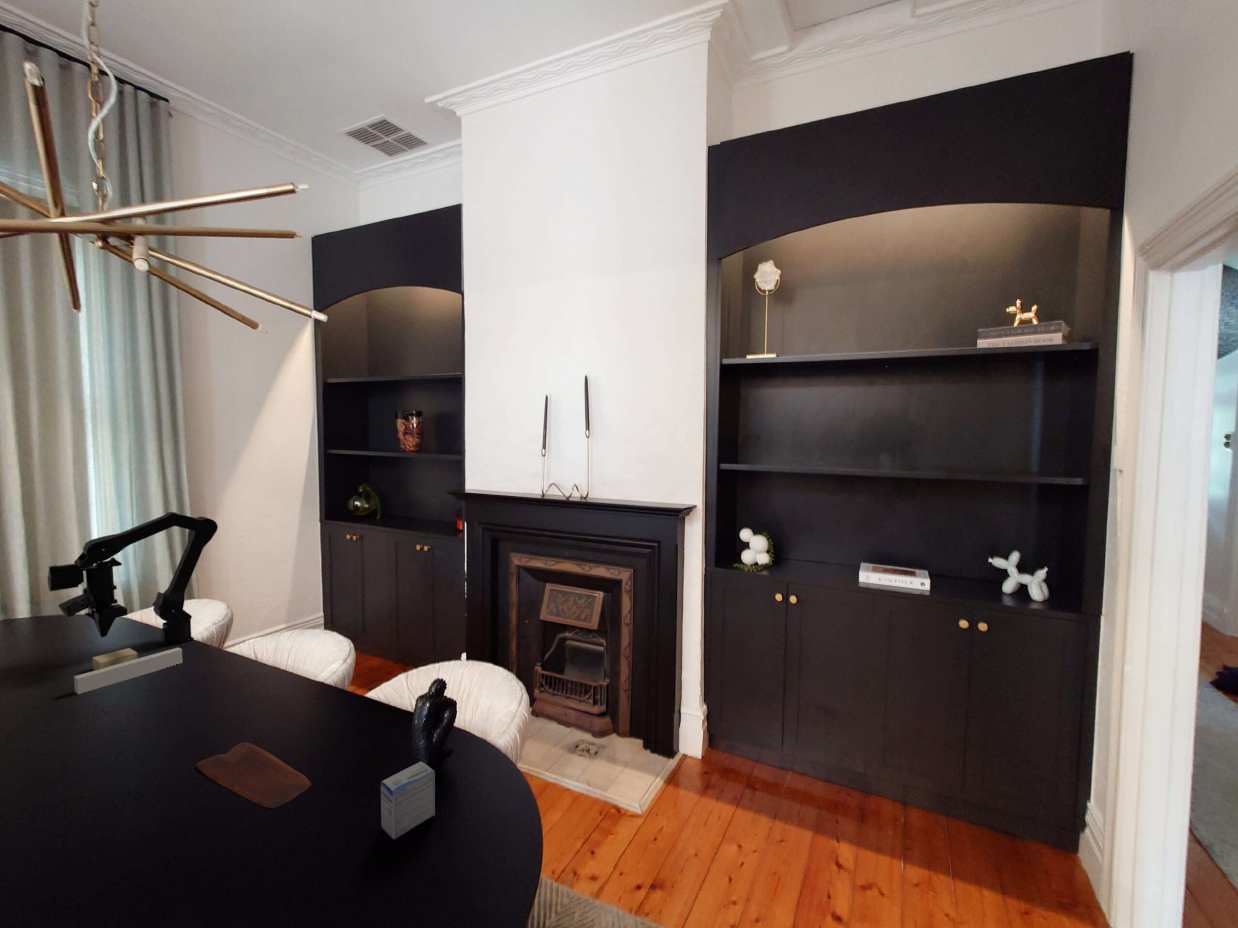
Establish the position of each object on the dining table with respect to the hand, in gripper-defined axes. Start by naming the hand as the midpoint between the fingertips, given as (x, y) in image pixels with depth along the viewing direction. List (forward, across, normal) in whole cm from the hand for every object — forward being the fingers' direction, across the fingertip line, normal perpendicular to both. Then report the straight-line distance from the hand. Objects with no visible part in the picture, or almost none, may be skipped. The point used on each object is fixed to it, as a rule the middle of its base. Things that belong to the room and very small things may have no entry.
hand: (103, 636), depth 161 cm
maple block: (+7, +9, 0) cm, 11 cm away
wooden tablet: (+7, +92, -3) cm, 92 cm away
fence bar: (+6, +20, 0) cm, 21 cm away
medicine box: (+7, +128, +5) cm, 128 cm away
